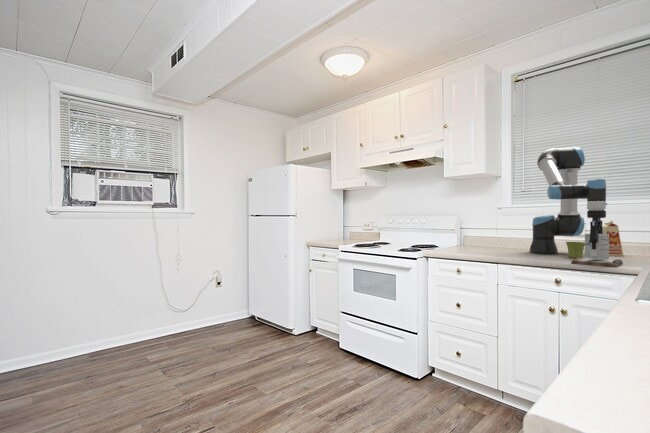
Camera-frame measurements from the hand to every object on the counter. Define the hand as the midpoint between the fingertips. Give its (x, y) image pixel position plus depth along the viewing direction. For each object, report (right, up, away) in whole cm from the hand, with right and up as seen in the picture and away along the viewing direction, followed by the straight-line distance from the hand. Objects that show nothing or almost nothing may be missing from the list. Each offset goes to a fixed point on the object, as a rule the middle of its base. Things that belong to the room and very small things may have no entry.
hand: (596, 254), depth 180 cm
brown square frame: (0, -4, 0) cm, 4 cm away
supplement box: (0, -2, 0) cm, 2 cm away
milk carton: (+31, -3, +31) cm, 44 cm away
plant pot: (+5, -4, +22) cm, 23 cm away
